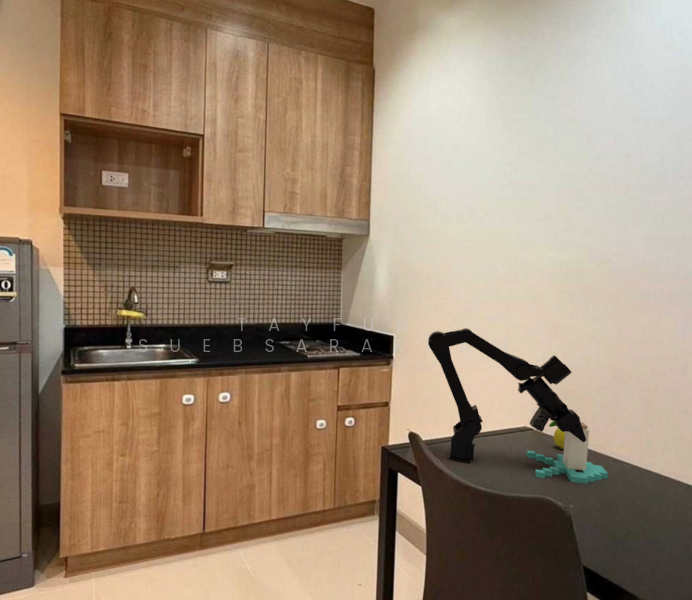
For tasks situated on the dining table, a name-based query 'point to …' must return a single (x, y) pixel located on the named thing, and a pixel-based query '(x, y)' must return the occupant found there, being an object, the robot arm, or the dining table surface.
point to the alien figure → (573, 474)
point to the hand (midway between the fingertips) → (580, 436)
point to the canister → (576, 450)
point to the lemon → (558, 436)
